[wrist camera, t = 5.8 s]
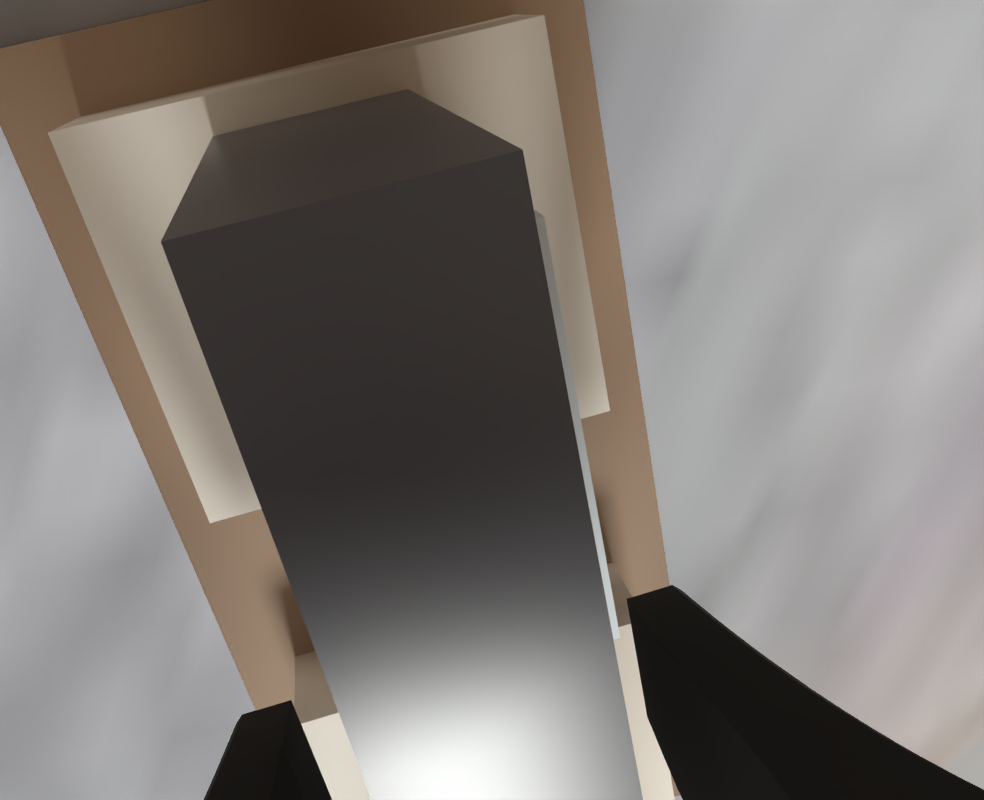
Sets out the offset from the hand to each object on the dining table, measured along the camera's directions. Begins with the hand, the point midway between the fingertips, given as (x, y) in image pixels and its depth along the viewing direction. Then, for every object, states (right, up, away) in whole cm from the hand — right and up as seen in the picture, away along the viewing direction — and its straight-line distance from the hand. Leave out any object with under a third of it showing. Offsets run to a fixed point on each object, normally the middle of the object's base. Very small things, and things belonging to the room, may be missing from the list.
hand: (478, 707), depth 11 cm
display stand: (-1, +2, +5) cm, 5 cm away
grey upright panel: (-1, +1, +3) cm, 3 cm away
